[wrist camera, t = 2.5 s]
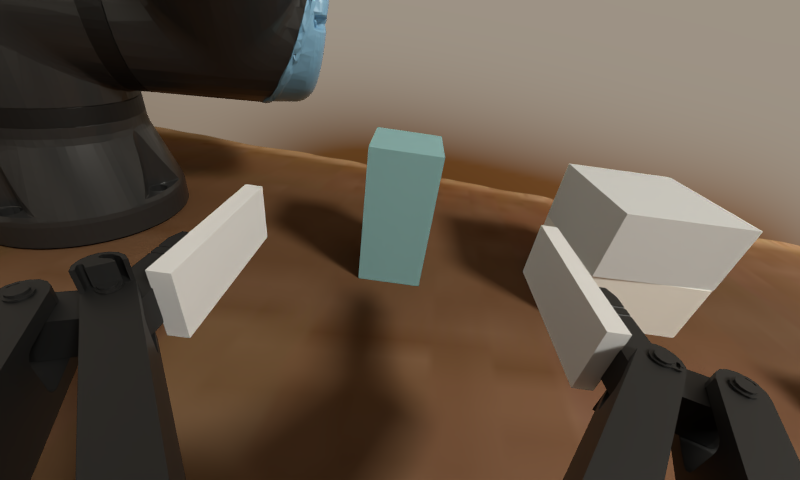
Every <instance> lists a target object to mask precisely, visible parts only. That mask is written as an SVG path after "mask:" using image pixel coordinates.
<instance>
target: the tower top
mask: <svg viewBox="0 0 800 480" xmlns="http://www.w3.org/2000/svg"><path fill="white" fill-rule="evenodd" d="M548 216H549V218H550V219H551V221H552V222H553V223H554V225H555V226H556V227H557V228H558V229H559V230H560V232H561V233H562V235H563V236H564V238H565V239H566V241H567V242H568V243H569V245H570V246H571V248H572V249H573V251H574V252H575V253H576V255H577V256H578V258H579V259H580V260H581V262H582V263H583V264H584V266H585V267H586V268H587V270H588V271H589V273H590V274H591V275H592V276H593V277H601V278H610V279H618V280H626V281H635V282H643V283H651V284H660V285H668V286H676V287H685V288H693V289H701V290H710V291H714V290H715V288H716V287H717V286H718V285H719V284H720V282H721V281H722V280H723V279H724V278H725V277H726V275H727V274H728V273H729V272H730V271H731V269H732V268H733V267H734V266H735V265H736V263H737V262H738V261H739V260H740V259H741V257H742V256H743V255H744V254H745V253H746V251H747V250H748V249H749V248H750V247H751V245H752V244H753V243H754V242H755V241H756V240H757V238H758V237H759V236H760V235H761V233H762V232H763V231H761V230H759V229H757V228H756V227H754V226H752V225H751V224H749V223H747V222H746V221H744V220H742V219H740V218H738V217H737V216H735V215H733V214H732V213H730V212H728V211H727V210H725V209H723V208H722V207H720V206H718V205H716V204H715V203H713V202H711V201H710V200H707V199H706V198H704V197H702V196H701V195H699V194H698V193H696V192H694V191H692V190H691V189H689V188H687V187H685V186H684V185H682V184H680V183H679V182H677V181H675V180H674V179H672V178H670V177H662V176H655V175H648V174H641V173H634V172H627V171H619V170H612V169H605V168H597V167H590V166H583V165H576V164H569V165H568V168H567V170H566V173H565V175H564V177H563V180H562V182H561V184H560V187H559V189H558V192H557V194H556V196H555V199H554V201H553V204H552V206H551V208H550V211H549V213H548Z"/></svg>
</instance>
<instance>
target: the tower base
mask: <svg viewBox="0 0 800 480" xmlns="http://www.w3.org/2000/svg"><path fill="white" fill-rule="evenodd" d="M544 226H552V227H556V226H555V225H554V223H553V222H552V221H551V219H550V218H549V216H547V218H546V221H545V223H544ZM575 254H576V253H575ZM580 261H581V260H580ZM582 264H583V263H582ZM583 265H584V264H583ZM584 267H585V266H584ZM585 268H586V267H585ZM586 269H587V268H586ZM587 271H588V270H587ZM588 272H589V271H588ZM589 274H590V273H589ZM590 275H591V274H590ZM591 277H592V278H593V280H594V281H595V282H596V284H597V285H598V287H603V288H606V289H608V290H609V291H610V292H611V293H613V294H614V295H615V296H616V297H617V298H618V299H619V301H620V302H621V303H622V305H623V306H624V309H626V310H627V311H628V313H629V314H630V317H632V318H633V320H634V321H635V322H636V324H637V325H638V326H639V328H640V329H641V330H642V332H643V333H644V334H650V335H657V336H665V337H672V338H674V336H675V335H676V334H677V333H678V332H679V330H680V329H681V328H682V327H683V326H684V324H685V323H686V322H687V321H688V320H689V318H690V317H691V316H692V315H693V314H694V312H695V311H696V310H697V309H698V308H699V306H700V305H701V304H702V303H703V302H704V301H705V299H706V298H707V297H708V296H709V295H710V293H711V291H710V290H701V289H693V288H685V287H676V286H668V285H660V284H651V283H643V282H635V281H626V280H618V279H610V278H601V277H593V276H592V275H591Z"/></svg>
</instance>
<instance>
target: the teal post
mask: <svg viewBox="0 0 800 480" xmlns="http://www.w3.org/2000/svg"><path fill="white" fill-rule="evenodd" d="M444 160H445V155H444V149H443V142H442V137H441V136H435V135H428V134H421V133H414V132H408V131H401V130H394V129H387V128H380V127H378V128H377V130H376V132H375V134H374V137H373V138H372V141H371V143H370V145H369V149H368V163H367V175H366V188H365V200H364V213H363V226H362V238H361V251H360V264H359V276H358V278H363V279H370V280H377V281H385V282H392V283H399V284H406V285H413V286H419V281H420V276H421V271H422V267H423V262H424V257H425V252H426V247H427V242H428V238H429V233H430V228H431V223H432V218H433V213H434V209H435V204H436V199H437V194H438V189H439V184H440V180H441V175H442V170H443V165H444Z"/></svg>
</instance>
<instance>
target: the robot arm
mask: <svg viewBox="0 0 800 480" xmlns="http://www.w3.org/2000/svg"><path fill="white" fill-rule="evenodd" d="M328 3H329V0H0V245H5V246H10V247H18V248H34V249H45V248H64V247H74V246H82V245H89V244H94V243H100V242H105V241H109V240H114V239H118V238H121V237H125V236H128V235H132V234H135V233H138V232H141V231H143V230H146V229H148V228H151V227H153V226H155V225H158V224H160V223H162V222H164V221H165V220H167V219H169V218H170V217H172V216H174V215H175V214H176V213H178V212H179V211H180V210H181V209H182V208H183V207H184V206H185V204H186V203H187V201H188V197H189V193H188V188H187V184H186V180H185V176H184V173H183V171H182V169H181V168H180V166H179V165H178V163H177V161H176V160H175V158H174V157H173V155H172V154H171V152H170V151H169V149H168V148H167V146H166V145H165V143H164V141H163V140H162V138H161V137H160V135H159V134H158V132H157V131H156V129H155V128H154V126H153V124H152V123H151V121H150V120H149V118H148V115H147V112H146V108H145V105H144V101H143V97H142V94H141V91H150V92H160V93H171V94H182V95H194V96H203V97H215V98H225V99H236V100H248V101H258V102H259V101H260V102H263V103H270V102H272V101H301V100H304V99H306V98H307V97H308V96H309V95H310V94H311V93H312V92H313V90H314V88H315V86H316V83H317V80H318V77H319V73H320V69H321V64H322V58H323V52H324V45H325V36H326V29H325V23H326V19H327V12H328ZM266 238H267V229H266V219H265V209H264V199H263V189H262V186H255V185H247V184H246V185H244V186H243V187H242V188H241V189H240V190H239V191H237V192H236V193H235V194H234V195H233V196H231V197H230V198H229V199H228V200H227V201H226V202H224V203H223V204H222V205H221V206H220V207H219V208H217V209H216V210H215V211H214V212H213V213H211V214H210V215H209V216H208V217H207V218H206V219H204V220H203V221H202V222H201V223H200V224H199V225H197V226H196V227H195V228H194V229H193V230H192V231H190V232H184V231H182V232H180V233H178V234H175V235H173V236H171V237H169V238H167V239H166V240H165V241H164V242H163V243H161V244H160V245H159V247H156V248H155V249H154V250H153V251H151V253H149V254H148V255H146V256H145V257H144V258H143V259H141V260H140V261H139V262H138V263H136V264H135V265H134V266H133V267H131V266H130V263H129V260H128V258H127V257H126V255H125V254H122V253H119V252H103V253H97V254H93V255H90V256H87V257H85V258H82V259H80V260H78V261H77V262H75V263H74V264H73V265H72V266H71V267H70V269H69V273H70V275H71V277H72V279H73V281H74V283H75V285H76V288H77V290H78V291H65V292H54V290H53V288H52V286H51V285H50V284H49V283H48V281H44V280H40V279H37V280H25V281H19V282H15V283H12V284H9V285H6V286H4V287H2V288H0V480H31V477H32V475H33V472H34V470H35V468H36V465H37V463H38V460H39V458H40V455H41V453H42V451H43V448H44V446H45V443H46V441H47V438H48V436H49V434H50V431H51V429H52V426H53V424H54V421H55V419H56V417H57V414H58V412H59V409H60V407H61V404H62V402H63V400H64V397H65V395H66V392H67V390H68V387H69V385H70V383H71V380H72V378H73V375H74V373H75V370H76V368H77V365H78V393H77V440H76V480H186V478H185V473H184V468H183V463H182V458H181V453H180V448H179V443H178V438H177V433H176V428H175V423H174V418H173V413H172V408H171V403H170V398H169V393H168V388H167V383H166V378H165V373H164V368H163V363H162V358H161V353H160V348H159V344H158V339H157V336H156V333H155V331H156V330H157V329H158V328H159V327H160V326H161V324H162V323H163V324H164V327H165V330H166V332H167V335H171V336H179V337H186V338H190V337H191V336H192V335H193V334H194V332H195V331H196V330H197V328H198V327H199V326H200V324H201V323H202V322H203V320H204V319H205V318H206V317H207V315H208V314H209V313H210V311H211V310H212V309H213V307H214V306H215V305H216V303H217V302H218V301H219V299H220V298H221V297H222V296H223V294H224V293H225V292H226V290H227V289H228V288H229V286H230V285H231V284H232V282H233V281H234V280H235V279H236V277H237V276H238V275H239V273H240V272H241V271H242V269H243V268H244V267H245V265H246V264H247V263H248V262H249V260H250V259H251V258H252V256H253V255H254V254H255V252H256V251H257V250H258V248H259V247H260V246H261V245H262V243H263V242H264V241H265V239H266ZM523 273H524V276H525V278H526V281H527V283H528V285H529V288H530V290H531V293H532V295H533V297H534V300H535V302H536V304H537V307H538V309H539V312H540V314H541V316H542V319H543V321H544V324H545V326H546V328H547V331H548V333H549V335H550V338H551V340H552V343H553V345H554V347H555V350H556V352H557V355H558V357H559V359H560V362H561V364H562V366H563V369H564V371H565V374H566V376H567V378H568V381H569V383H570V386H571V388H577V389H585V390H592V391H593V390H594V389H595V387H596V386H597V385H598V383H599V382H600V380H602V382H603V384H604V385H605V387H606V389H607V390H606V391H605V393H604V394H603V395H602V397H601V398H600V399H599V401H598V402H597V404H596V405H595V406H594V408H593V410H594V411H595V412H594V414H593V416H592V419H591V421H590V423H589V425H588V427H587V429H586V431H585V433H584V436H583V438H582V440H581V442H580V444H579V446H578V448H577V451H576V453H575V455H574V457H573V459H572V461H571V463H570V466H569V468H568V470H567V472H566V474H565V476H564V478H563V480H664V479H665V474H666V470H667V465H668V460H669V456H670V451H672V458H673V465H674V472H675V479H676V480H800V461H799V459H798V457H797V454H796V452H795V450H794V448H793V446H792V443H791V441H790V439H789V437H788V435H787V433H786V430H785V428H784V426H783V424H782V422H781V419H780V417H779V415H778V413H777V411H776V409H775V406H774V404H773V402H772V400H771V399H770V397H769V396H768V394H767V393H766V392H765V391H764V390H763V389H762V388H761V387H760V386H759V385H758V384H757V383H755V382H754V381H752V380H751V379H749V378H748V377H746V376H743V375H741V374H739V373H737V372H734V371H731V370H728V369H719V370H718V371H716V372H715V373H714V374H713V375H712V376H711V377H710V378H709V377H707V376H704V375H701V374H698V373H695V372H693V371H690V370H687V369H686V367H685V366H684V364H683V363H682V361H681V360H680V359H679V358H678V357H677V356H676V355H674V354H673V353H671V352H670V351H668V350H667V349H665V348H663V347H661V346H658V345H656V344H651V343H650V341H649V340H648V339H647V337H646V336H645V334H644V333H643V332H642V330H641V329H640V328H639V326H638V325H637V324H636V322H635V321H634V320H633V318H632V317H630V314H629V313H628V311H627V310H626V309H624V306H623V305H622V303H621V302H620V301H619V299H618V298H617V297H616V296H615V295H614V294H613V293H611V292H610V291H609V290H608V289H606V288H603V287H598V285H597V284H596V282H595V281H594V280H593V278H592V277H591V275H590V274H589V272H588V271H587V269H586V268H585V267H584V265H583V264H582V262H581V261H580V259H579V258H578V256H577V255H576V254H575V252H574V251H573V249H572V248H571V246H570V245H569V243H568V242H567V241H566V239H565V238H564V236H563V235H562V233H561V232H560V230H559V229H558V228H557V227H552V226H544V225H541V227H540V229H539V232H538V234H537V237H536V240H535V242H534V245H533V247H532V250H531V252H530V255H529V257H528V260H527V262H526V265H525V267H524V270H523Z"/></svg>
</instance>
